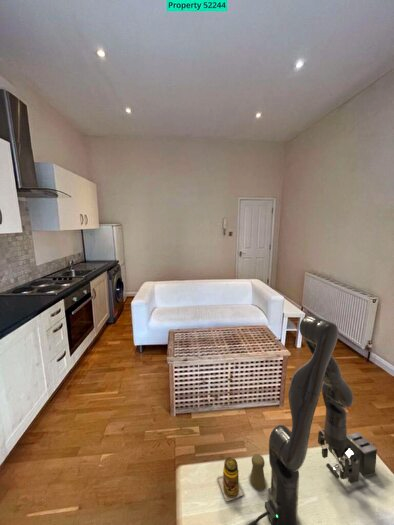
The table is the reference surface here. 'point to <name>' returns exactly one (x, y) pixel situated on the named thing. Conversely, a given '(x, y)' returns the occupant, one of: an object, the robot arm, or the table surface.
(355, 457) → the switch bracket
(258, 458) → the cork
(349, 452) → the switch lever
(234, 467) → the condiment
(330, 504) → the table surface
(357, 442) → the toaster body
